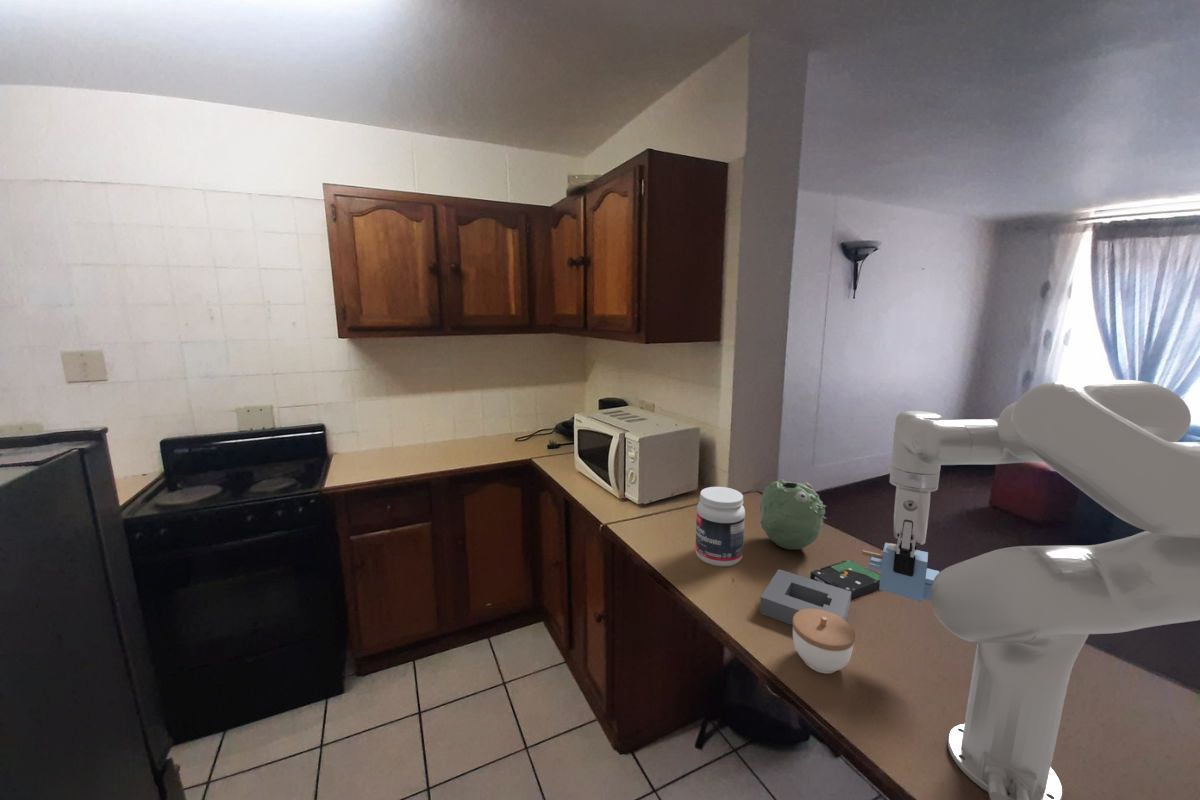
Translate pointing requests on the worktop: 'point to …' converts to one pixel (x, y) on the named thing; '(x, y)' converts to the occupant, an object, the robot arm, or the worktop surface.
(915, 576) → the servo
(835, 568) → the disk drive
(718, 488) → the supplement tub
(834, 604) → the plate
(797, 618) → the lidded jar
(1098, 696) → the worktop surface
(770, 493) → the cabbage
